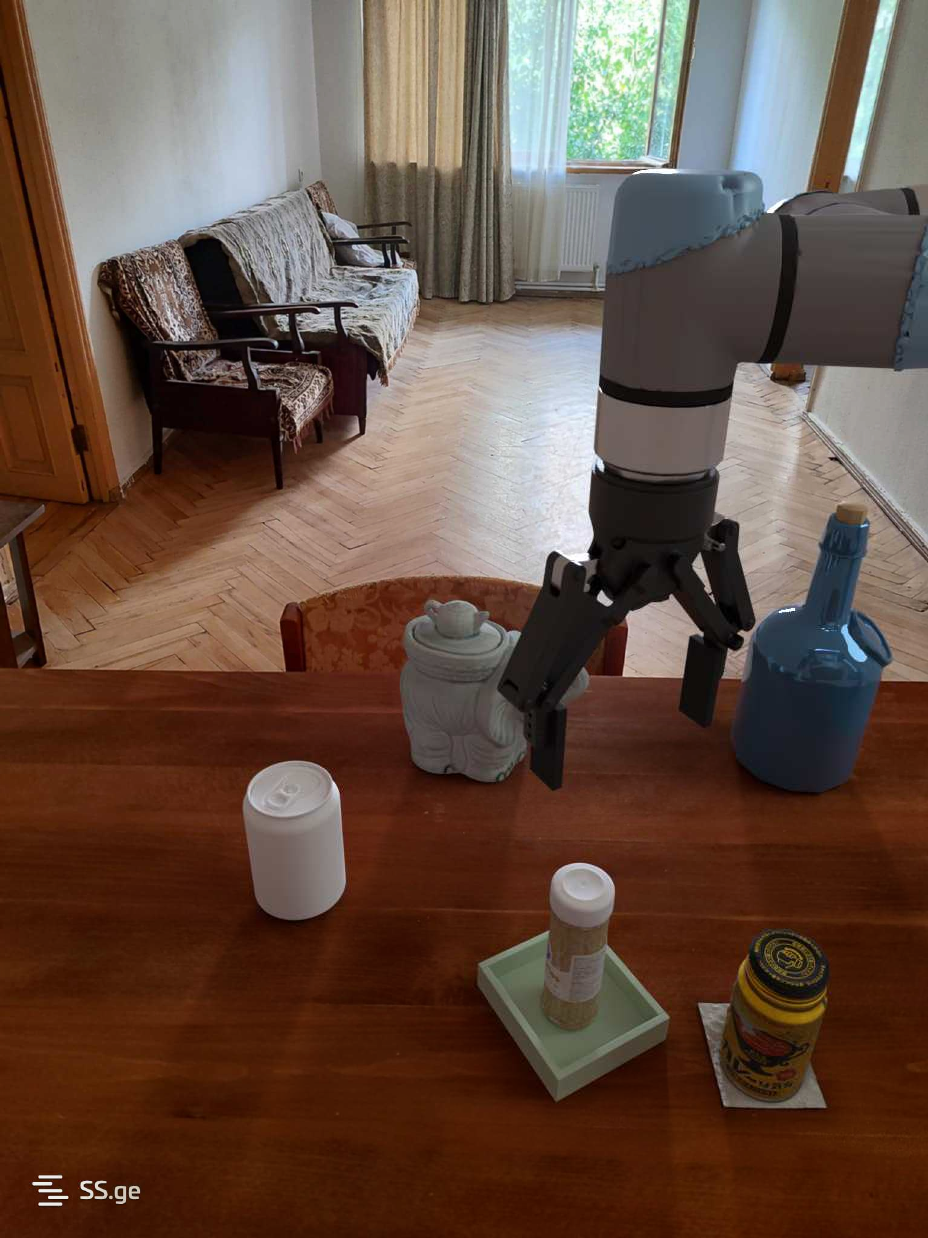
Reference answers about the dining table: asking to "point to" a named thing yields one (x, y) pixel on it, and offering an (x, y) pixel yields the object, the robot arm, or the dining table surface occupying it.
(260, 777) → the beverage can
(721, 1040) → the condiment
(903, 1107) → the dining table surface
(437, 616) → the elephant cookie jar
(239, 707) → the dining table surface
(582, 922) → the sprinkles bottle
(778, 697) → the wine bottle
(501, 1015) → the tray
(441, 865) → the dining table surface
